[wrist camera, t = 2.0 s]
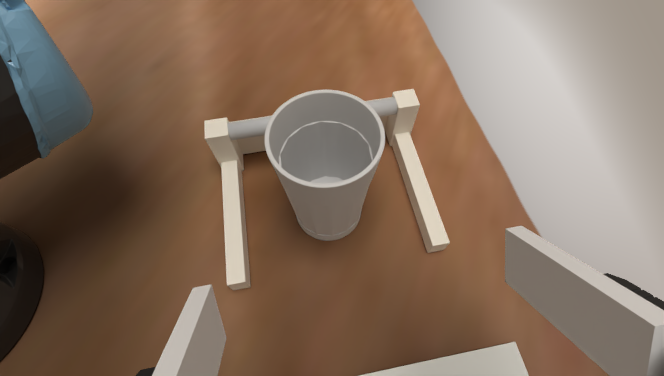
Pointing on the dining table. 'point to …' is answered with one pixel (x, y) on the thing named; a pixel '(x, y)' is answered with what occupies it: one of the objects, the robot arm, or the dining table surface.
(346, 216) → the cup
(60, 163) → the dining table surface
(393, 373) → the mat
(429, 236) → the dispenser bay
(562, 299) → the robot arm
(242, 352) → the dining table surface
